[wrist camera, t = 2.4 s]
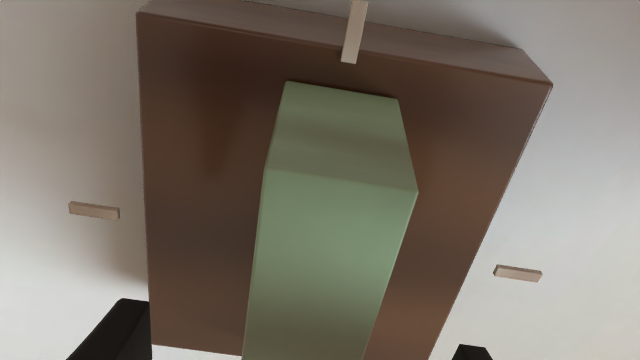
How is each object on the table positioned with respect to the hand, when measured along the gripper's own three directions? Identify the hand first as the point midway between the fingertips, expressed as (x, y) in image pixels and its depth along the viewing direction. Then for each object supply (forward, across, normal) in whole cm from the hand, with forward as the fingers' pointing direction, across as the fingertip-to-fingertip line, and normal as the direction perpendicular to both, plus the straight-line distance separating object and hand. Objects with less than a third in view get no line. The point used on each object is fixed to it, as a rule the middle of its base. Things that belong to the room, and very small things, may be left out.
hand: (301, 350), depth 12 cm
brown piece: (+6, 0, 0) cm, 6 cm away
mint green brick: (+4, 0, 0) cm, 4 cm away
